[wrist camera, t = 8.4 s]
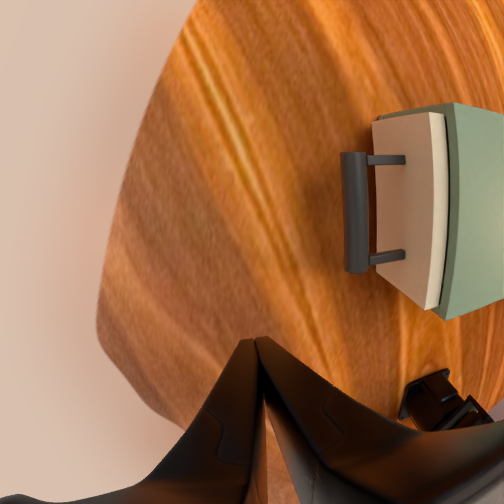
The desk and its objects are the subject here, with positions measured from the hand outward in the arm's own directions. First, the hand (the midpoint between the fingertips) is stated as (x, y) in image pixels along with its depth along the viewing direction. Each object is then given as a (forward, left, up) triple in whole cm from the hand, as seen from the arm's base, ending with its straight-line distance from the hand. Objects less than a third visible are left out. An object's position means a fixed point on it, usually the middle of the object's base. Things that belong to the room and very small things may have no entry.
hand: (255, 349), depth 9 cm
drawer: (+2, -15, -12) cm, 19 cm away
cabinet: (+2, -19, -13) cm, 23 cm away
